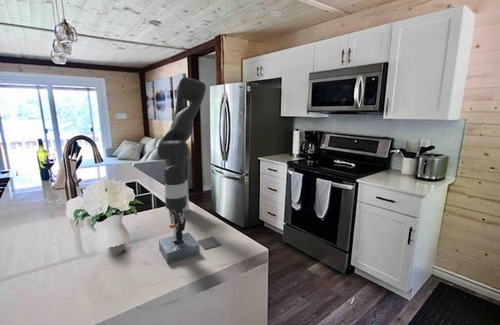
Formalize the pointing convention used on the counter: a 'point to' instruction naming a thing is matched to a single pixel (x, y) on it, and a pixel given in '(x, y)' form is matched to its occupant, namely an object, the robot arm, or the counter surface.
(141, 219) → the counter surface
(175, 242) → the chuck key
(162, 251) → the block
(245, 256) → the counter surface
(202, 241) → the mat
